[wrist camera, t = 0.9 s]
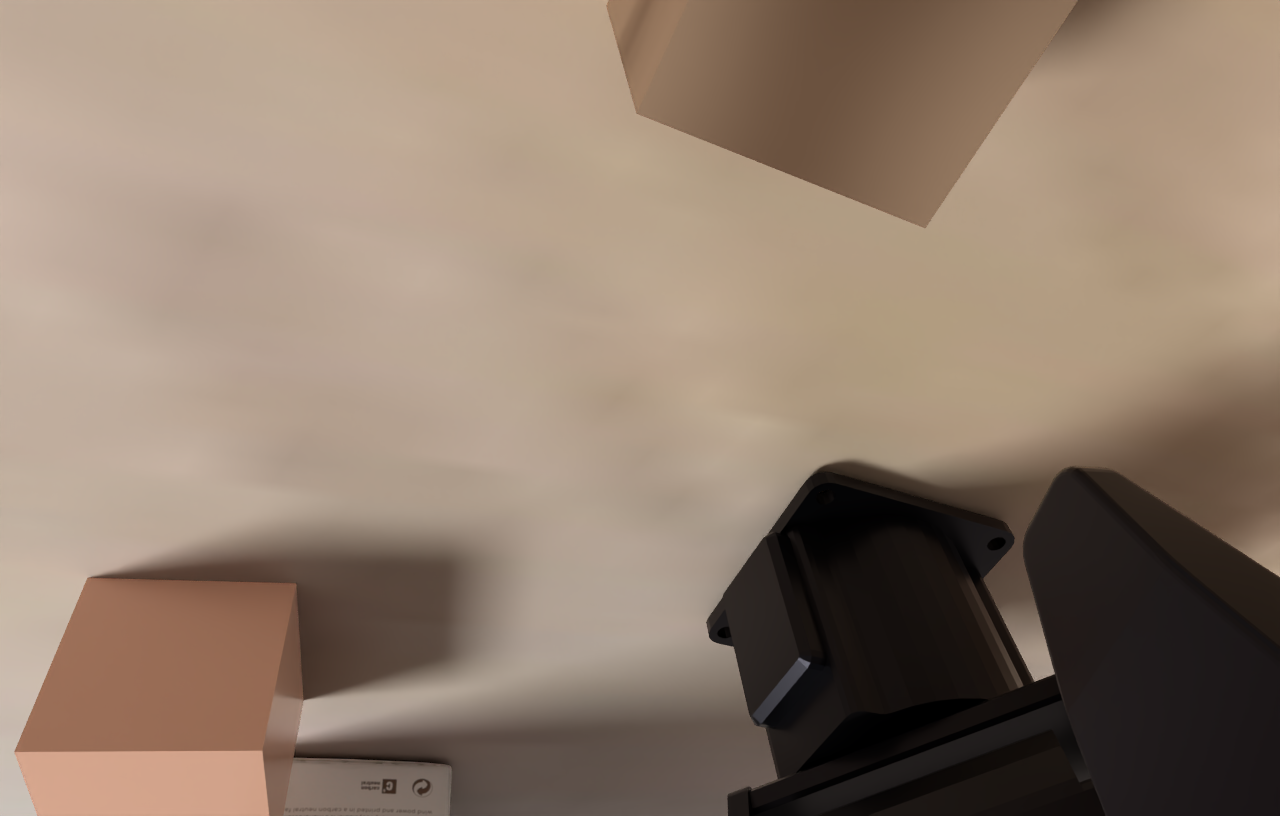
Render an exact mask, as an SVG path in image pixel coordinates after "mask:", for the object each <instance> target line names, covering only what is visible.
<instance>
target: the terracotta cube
mask: <svg viewBox="0 0 1280 816" xmlns="http://www.w3.org/2000/svg"><path fill="white" fill-rule="evenodd" d="M303 701H304V699H303V683H302V667H301V651H300V634H299V618H298V602H297V586H296V583H266V582H228V581H190V580H152V579H115V578H87V580H86V583H85V585H84V588H83V590H82V592H81V595H80V597H79V600H78V602H77V604H76V607H75V609H74V611H73V614H72V616H71V619H70V621H69V623H68V626H67V628H66V630H65V633H64V635H63V638H62V640H61V642H60V645H59V647H58V649H57V652H56V654H55V657H54V659H53V661H52V664H51V666H50V669H49V671H48V673H47V676H46V678H45V680H44V683H43V685H42V688H41V690H40V692H39V695H38V697H37V699H36V702H35V704H34V707H33V709H32V711H31V714H30V716H29V718H28V721H27V723H26V726H25V728H24V730H23V733H22V735H21V738H20V740H19V742H18V745H17V747H16V749H15V755H16V758H17V761H18V763H19V766H20V769H21V771H22V774H23V777H24V780H25V782H26V785H27V788H28V791H29V793H30V796H31V799H32V802H33V804H34V807H35V810H36V813H37V815H38V816H283V815H284V809H285V804H286V798H287V792H288V786H289V781H290V775H291V769H292V764H293V758H294V752H295V746H296V741H297V735H298V729H299V723H300V718H301V712H302V706H303Z"/></svg>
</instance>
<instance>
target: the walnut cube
mask: <svg viewBox="0 0 1280 816" xmlns="http://www.w3.org/2000/svg"><path fill="white" fill-rule="evenodd" d="M1077 1H1078V0H609V1H608V4H607V10H608V13H609V17H610V20H611V24H612V27H613V31H614V35H615V38H616V42H617V45H618V49H619V52H620V56H621V59H622V63H623V67H624V70H625V74H626V77H627V81H628V84H629V88H630V91H631V95H632V99H633V102H634V106H635V109H636V113H637V114H639V115H642V116H644V117H647V118H649V119H652V120H654V121H657V122H659V123H662V124H664V125H667V126H669V127H672V128H674V129H677V130H679V131H682V132H684V133H687V134H690V135H692V136H695V137H697V138H700V139H702V140H705V141H707V142H710V143H712V144H715V145H717V146H720V147H722V148H725V149H727V150H730V151H732V152H735V153H737V154H740V155H742V156H745V157H747V158H750V159H752V160H755V161H757V162H760V163H763V164H765V165H768V166H770V167H773V168H775V169H778V170H780V171H783V172H785V173H788V174H790V175H793V176H795V177H798V178H800V179H803V180H805V181H808V182H810V183H813V184H815V185H818V186H820V187H823V188H825V189H828V190H830V191H833V192H836V193H838V194H841V195H843V196H846V197H848V198H851V199H853V200H856V201H858V202H861V203H863V204H866V205H868V206H871V207H873V208H876V209H878V210H881V211H883V212H886V213H888V214H891V215H893V216H896V217H898V218H901V219H903V220H906V221H909V222H911V223H914V224H916V225H919V226H921V227H924V228H926V226H927V225H928V223H929V222H930V220H931V219H932V217H933V216H934V214H935V213H936V211H937V210H938V208H939V207H940V205H941V204H942V202H943V201H944V199H945V198H946V196H947V195H948V193H949V192H950V190H951V189H952V187H953V186H954V184H955V183H956V182H957V180H958V179H959V177H960V176H961V174H962V173H963V171H964V170H965V168H966V167H967V165H968V164H969V162H970V161H971V159H972V158H973V156H974V155H975V153H976V152H977V150H978V149H979V147H980V146H981V144H982V143H983V141H984V140H985V138H986V137H987V135H988V134H989V132H990V131H991V129H992V128H993V126H994V125H995V123H996V122H997V121H998V119H999V118H1000V116H1001V115H1002V113H1003V112H1004V110H1005V109H1006V107H1007V106H1008V104H1009V103H1010V101H1011V100H1012V98H1013V97H1014V95H1015V94H1016V92H1017V91H1018V89H1019V88H1020V86H1021V85H1022V83H1023V82H1024V80H1025V79H1026V77H1027V76H1028V74H1029V73H1030V71H1031V70H1032V68H1033V67H1034V65H1035V64H1036V62H1037V61H1038V59H1039V58H1040V57H1041V55H1042V54H1043V52H1044V51H1045V49H1046V48H1047V46H1048V45H1049V43H1050V42H1051V40H1052V39H1053V37H1054V36H1055V34H1056V33H1057V31H1058V30H1059V28H1060V27H1061V25H1062V24H1063V22H1064V21H1065V19H1066V18H1067V16H1068V15H1069V13H1070V12H1071V10H1072V9H1073V7H1074V6H1075V4H1076V3H1077Z"/></svg>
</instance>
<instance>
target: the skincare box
mask: <svg viewBox="0 0 1280 816" xmlns="http://www.w3.org/2000/svg"><path fill="white" fill-rule="evenodd" d="M451 780H452V768H451V767H450V766H449V765H445V764H435V763H424V762H406V761H381V760H359V759H326V758H293V764H292V769H291V775H290V781H289V786H288V792H287V798H286V804H285V809H284V815H283V816H450V798H451Z"/></svg>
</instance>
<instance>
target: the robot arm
mask: <svg viewBox="0 0 1280 816" xmlns="http://www.w3.org/2000/svg"><path fill="white" fill-rule="evenodd" d="M824 490H828V491H827V492H825V493H822V494H819V493H820V492H821V491H824ZM1014 539H1015V538H1014V536H1013V534H1012V532H1011V531H1010V529H1009V527H1008V525H1007V524H1006V523H1005V522H1003V521H1000V520H997V519H993V518H990V517H986V516H983V515H979V514H976V513H972V512H969V511H965V510H962V509H958V508H954V507H951V506H947V505H944V504H940V503H937V502H933V501H930V500H926V499H923V498H919V497H916V496H912V495H909V494H905V493H902V492H898V491H895V490H891V489H888V488H884V487H881V486H877V485H874V484H870V483H867V482H863V481H860V480H856V479H852V478H849V477H845V476H842V475H838V474H835V473H831V472H821V473H817V474H815V475H813V476H811V477H810V478H809V479H808V480H806V481H805V483H804V484H803V486H802V487H801V488H800V490H799V491H798V493H797V494H796V495H795V497H794V498H793V500H792V501H791V502H790V504H789V505H788V507H787V508H786V509H785V511H784V512H783V514H782V515H781V516H780V518H779V519H778V521H777V522H776V523H775V525H774V526H773V528H772V529H771V531H770V532H769V533H768V535H767V536H765V537H764V538H763V539H762V541H761V542H760V543H759V545H758V546H757V548H756V549H755V550H754V552H753V553H752V555H751V556H750V557H749V559H748V560H747V562H746V563H745V565H744V566H743V567H742V569H741V570H740V572H739V573H738V574H737V576H736V577H735V579H734V580H733V581H732V583H731V584H730V586H729V587H728V588H727V590H726V591H725V593H724V594H723V598H722V599H721V601H720V602H719V604H718V605H717V606H716V608H715V609H714V611H713V612H712V613H711V615H710V616H709V618H708V620H707V622H706V623H707V628H708V633H709V638H710V639H711V640H712V641H713V642H716V643H719V644H723V645H728V646H733V647H734V649H735V654H736V658H737V662H738V667H739V671H740V676H741V680H742V684H743V689H744V693H745V697H746V702H747V706H748V710H749V715H750V717H751V719H752V720H753V722H754V724H755V725H756V726H760V727H766V731H767V735H768V740H769V744H770V748H771V752H772V756H773V760H774V764H775V769H776V773H777V777H778V780H775V781H773V782H770V783H767V784H765V785H762V786H759V787H757V788H754V789H751V788H750V787H749V786H748V787H746V788H743V789H740V790H738V791H735V792H733V793H730V794H728V816H1280V577H1279V576H1277V575H1276V574H1274V573H1273V572H1271V571H1269V570H1268V569H1266V568H1265V567H1263V566H1262V565H1260V564H1259V563H1257V562H1256V561H1254V560H1252V559H1251V558H1249V557H1248V556H1246V555H1245V554H1243V553H1242V552H1240V551H1239V550H1237V549H1235V548H1234V547H1232V546H1231V545H1229V544H1228V543H1226V542H1225V541H1223V540H1222V539H1220V538H1218V537H1217V536H1215V535H1214V534H1212V533H1211V532H1209V531H1208V530H1206V529H1205V528H1203V527H1201V526H1200V525H1198V524H1197V523H1195V522H1194V521H1192V520H1191V519H1189V518H1188V517H1186V516H1184V515H1183V514H1181V513H1180V512H1178V511H1177V510H1175V509H1174V508H1172V507H1171V506H1169V505H1167V504H1166V503H1164V502H1163V501H1161V500H1160V499H1158V498H1157V497H1155V496H1154V495H1152V494H1150V493H1149V492H1147V491H1146V490H1144V489H1143V488H1141V487H1140V486H1138V485H1137V484H1135V483H1133V482H1132V481H1130V480H1129V479H1127V478H1126V477H1124V476H1123V475H1121V474H1120V473H1118V472H1116V471H1114V470H1111V469H1108V468H1097V467H1077V466H1073V467H1068V468H1065V469H1063V470H1062V471H1061V472H1059V473H1058V474H1057V475H1056V477H1055V478H1054V480H1053V482H1052V483H1051V485H1050V487H1049V489H1048V491H1047V493H1046V495H1045V497H1044V499H1043V500H1042V502H1041V504H1040V506H1039V508H1038V510H1037V512H1036V514H1035V515H1034V517H1033V519H1032V521H1031V523H1030V525H1029V527H1028V529H1027V531H1026V533H1025V537H1024V542H1023V557H1024V562H1025V566H1026V570H1027V573H1028V577H1029V581H1030V584H1031V588H1032V592H1033V595H1034V599H1035V603H1036V606H1037V610H1038V614H1039V617H1040V621H1041V625H1042V628H1043V632H1044V636H1045V639H1046V643H1047V647H1048V650H1049V654H1050V658H1051V661H1052V665H1053V669H1054V672H1055V674H1054V675H1051V676H1049V677H1046V678H1044V679H1041V680H1038V681H1036V682H1034V680H1033V678H1032V676H1031V674H1030V672H1029V670H1028V668H1027V666H1026V664H1025V662H1024V660H1023V658H1022V656H1021V654H1020V652H1019V650H1018V648H1017V646H1016V644H1015V642H1014V640H1013V638H1012V636H1011V634H1010V632H1009V630H1008V628H1007V626H1006V624H1005V622H1004V620H1003V618H1002V616H1001V614H1000V612H999V610H998V608H997V606H996V604H995V602H994V600H993V598H992V596H991V594H990V592H989V590H988V588H987V586H986V584H985V583H984V581H983V578H984V577H985V576H986V575H987V573H988V572H989V571H990V570H991V569H992V568H993V567H994V566H995V565H996V564H997V563H998V561H999V560H1000V559H1001V558H1002V557H1003V556H1004V555H1005V554H1006V553H1007V552H1008V550H1009V549H1010V548H1011V547H1012V545H1013V544H1014Z"/></svg>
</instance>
